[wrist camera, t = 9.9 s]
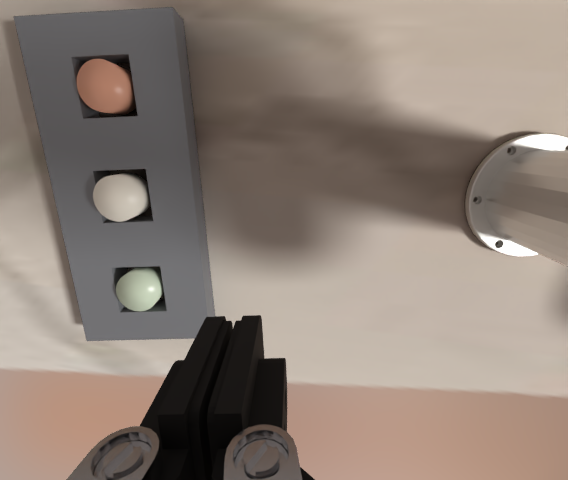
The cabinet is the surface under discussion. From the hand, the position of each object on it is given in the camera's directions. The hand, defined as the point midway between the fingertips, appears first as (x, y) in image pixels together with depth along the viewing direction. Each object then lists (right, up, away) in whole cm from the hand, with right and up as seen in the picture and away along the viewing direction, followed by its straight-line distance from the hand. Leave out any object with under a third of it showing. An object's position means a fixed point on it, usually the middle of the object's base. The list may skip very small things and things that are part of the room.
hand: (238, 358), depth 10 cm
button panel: (-14, +9, +26) cm, 31 cm away
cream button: (-14, +8, +25) cm, 30 cm away
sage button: (-14, -1, +28) cm, 31 cm away
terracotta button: (-15, +18, +23) cm, 33 cm away
